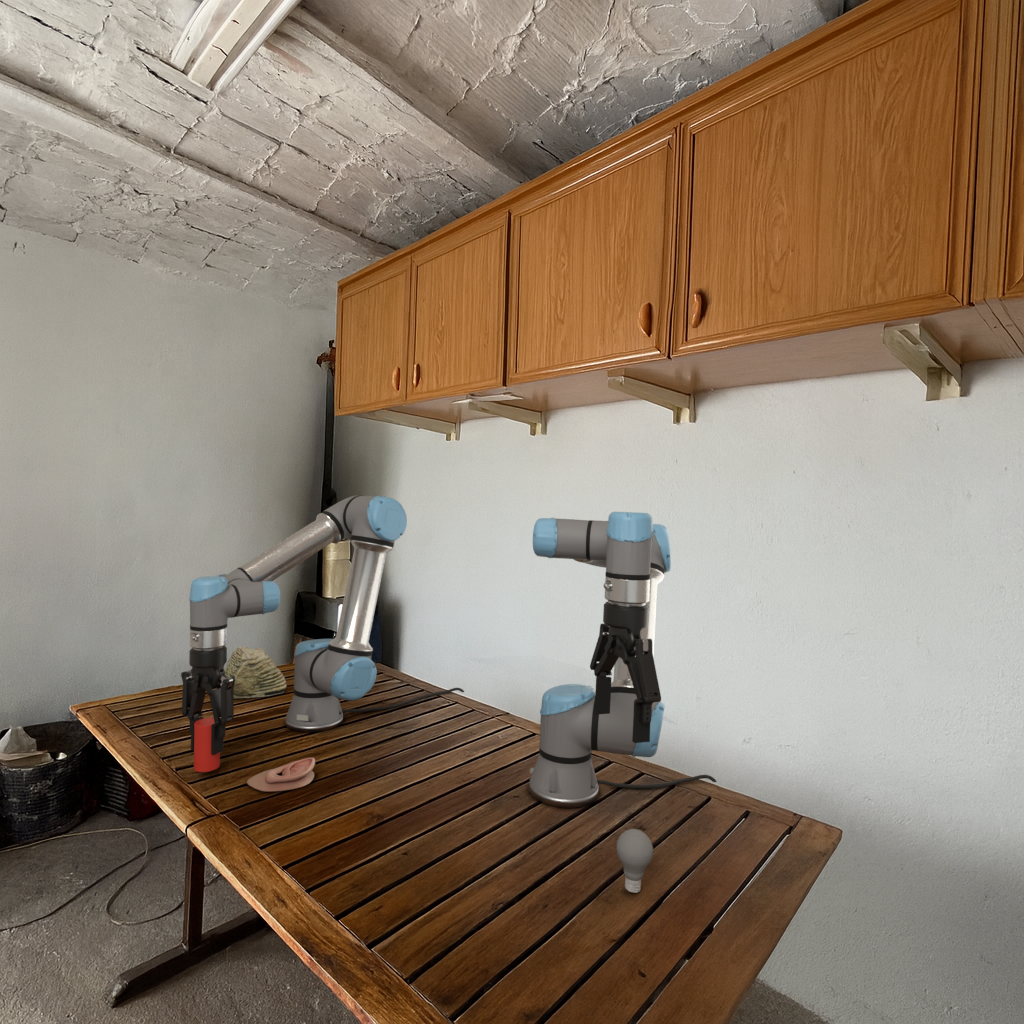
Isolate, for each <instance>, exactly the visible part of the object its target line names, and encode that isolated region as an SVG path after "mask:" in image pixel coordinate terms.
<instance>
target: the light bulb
mask: <svg viewBox="0 0 1024 1024" xmlns="http://www.w3.org/2000/svg"><path fill="white" fill-rule="evenodd" d="M615 849H616V854H617V857H618V859H619V861H620V863H621V865H622V867H623V873H624V874H623V875H624V876H625V878H624V888H625V890H627V891H628V892H630V893H634V894H635V893H639V892H640V891H641V889H642V887H641V886H642V879H643V877H644V875H645V871H646V868H647V867H648V866H649V864H650V863H651V861H652V859H653V855H654V847H653V843H652V841H651V838H649V836H648V835H647V834H646V833H645V832H643V831H642V830H641V829H636V828H629V829H627V830H625V831H623V832H622V833H621V834H620V835H619V837H618V839H617V841H616V847H615Z"/></svg>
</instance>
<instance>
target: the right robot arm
mask: <svg viewBox="0 0 1024 1024" xmlns="http://www.w3.org/2000/svg"><path fill="white" fill-rule="evenodd" d="M532 550H533V553H534V554H535V556H536V557H540V558H548V559H564V560H565V559H566V560H573V561H576V562H577V563H578V562H579V563H583V564H586V565H590V566H594V567H599V568H605V574H604V575H605V577H604V578H605V579H604V580H605V581H604V583H603V588H604V599H605V600H606V601H605V603H604V604H603V611H602V612H603V613H602V622H603V623H600V624H599V633H598V638H597V641H596V644H595V648H594V650H593V654H592V658H591V660H590V664H589V669H590V670H591V671H593V674H594V676H595V689H594V687H593V686H590V685H587V684H581V683H569V684H561V685H557V686H553V687H551V688H549V689H547V690H545V692H544V693H543V695H542V698H541V705H540V710H539V714H540V721H539V722H540V725H539V744H538V745H539V746H538V747H539V749H538V757H537V760H536V762H535V765H534V767H530V768H529V774H531V776H530V778H529V787H528V790H529V793H530V795H531V796H532V797H533V798H534V799H536V800H537V801H539V802H541V803H543V804H545V805H548V806H552V807H557V808H565V809H567V808H569V809H573V808H575V809H576V808H581V807H586V806H589V805H591V804H592V803H594V802H595V801H596V800H598V797H599V784H600V785H606V786H610V787H613V788H614V787H615V788H623V789H660V788H666V787H671V786H674V785H679V784H682V783H688V782H694V781H697V780H702V779H707V780H710V781H711V782H712V783H717V780H716V779H715V777H713V776H711V775H709V774H698V775H695V776H689V777H684V778H679V779H675V780H672V781H668V782H661V783H652V784H651V783H650V784H632V783H629V784H628V783H618V782H612V781H608V780H603V779H597V776H596V772H595V768H594V765H593V760H592V756H593V755H592V753H593V751H596V752H601V753H608V754H616V755H625V756H631V757H633V758H636V757H641V758H652V757H655V755H656V754H657V752H658V749H659V748H658V747H659V742H660V737H661V732H662V726H663V719H664V714H665V709H666V704H665V702H662V694H661V689H660V685H659V679H658V675H657V669H656V664H655V659H654V658H655V657H654V656H655V655H654V653H655V636H656V618H657V617H656V616H657V599H658V597H657V595H658V584H660V583H661V582H663V580H664V579H665V574H666V573H670V572H671V569H672V563H671V544H670V536H669V531H668V528H667V527H666V525H664V524H662V523H653V516H652V515H651V514H650V513H648V512H638V511H637V512H635V511H634V512H632V511H612V512H610V514H608V519H607V520H596V519H595V520H593V519H589V520H587V519H573V518H556V517H541V518H540V517H539V518H537V520H536V521H535V523H534V526H533V530H532ZM612 670H613V673H612ZM611 676H613V677H611Z"/></svg>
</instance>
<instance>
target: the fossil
mask: <svg viewBox="0 0 1024 1024" xmlns="http://www.w3.org/2000/svg"><path fill="white" fill-rule="evenodd" d="M225 665H226V666H225V667H224V671H225V675H227V676H228V677H235V679H236V680H235V684H234V687H233V693H234V699H250V698H264V697H271V696H275V695H281V694H284V693H285V691H286V689H287V687H288V686H287V680H286V678H285V676H284V674H283V673H282V672H281V669H279V668H278V667H277V665H276V663H275V662H274V660H273V659H272V658H271V657H270V656H269V655H268V654H267V653H266V652H265V650H264V649H263V648H260V647H258V648H251V647H247V646H246V647H245V646H238V647H237V648H236V649H235V650H233V651H232V653H231V656H230V657H229V659H227V661H226V664H225Z"/></svg>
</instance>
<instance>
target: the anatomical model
mask: <svg viewBox="0 0 1024 1024" xmlns="http://www.w3.org/2000/svg"><path fill="white" fill-rule="evenodd" d="M315 766H316V758H315V757H306V758H302V759H299V760H295V761H291V762H289V763H287V764H283V765H281V766H280V765H279V766H278V767H275V768H270V769H268V770H267V769H266V770H264V771H262V772H259V773H257V774H255V775H253V776H252V777H250V778H249V779H247V781H246V784H247V785H248V786H249V787H251V788H253V789H255V790H258V791H260V792H282V791H283V792H284V791H290V790H295V789H299V788H302V787H305V786H307V785H309V784H310V783H311V782H312V781H313V780H314V778H315V772H314V771H313V769H314V767H315Z"/></svg>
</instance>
